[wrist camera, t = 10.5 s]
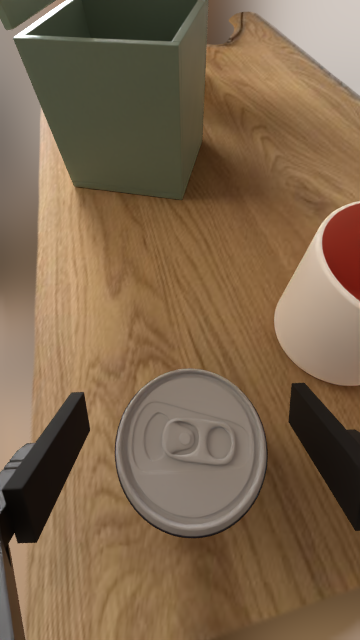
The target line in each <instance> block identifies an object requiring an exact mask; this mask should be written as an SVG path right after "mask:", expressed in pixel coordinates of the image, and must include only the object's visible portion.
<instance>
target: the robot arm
mask: <svg viewBox="0 0 360 640" xmlns="http://www.w3.org/2000/svg"><path fill="white" fill-rule="evenodd" d="M289 423H290V425H291V427H292V428H293V430H294V432H295V433H296V435H297V436H298V438H299V440H300V441H301V443H302V445H303V446H304V448H305V449H306V451H307V453H308V454H309V456H310V458H311V459H312V461H313V463H314V464H315V466H316V467H317V469H318V471H319V472H320V474H321V476H322V477H323V479H324V480H325V482H326V484H327V485H328V487H329V489H330V490H331V492H332V493H333V495H334V497H335V498H336V500H337V502H338V503H339V505H340V507H341V508H342V510H343V511H344V513H345V515H346V516H347V518H348V520H349V521H350V523H351V524H352V526H353V528H354V529H355V531H360V432H358V431H357V430H346V429H345V428H344V427H343V425H342V424H341V423H340V422H339V421H338V420H337V419H336V418H335V416H334V415H333V414H332V413H331V412H330V411H329V410H328V409H327V408H326V406H325V405H324V404H323V403H322V402H321V401H320V400H319V399H318V398H317V396H316V395H315V394H314V393H313V392H312V391H311V390H310V389H309V387H308V386H307V385H306V384H305V383H292V387H291V399H290V411H289ZM89 431H90V426H89V420H88V414H87V408H86V402H85V396H84V392H74V393H71V394H70V395H69V397H68V398H67V399H66V401H65V402H64V404H63V405H62V406H61V408H60V409H59V411H58V412H57V413H56V415H55V416H54V418H53V419H52V420H51V422H50V423H49V425H48V426H47V427H46V429H45V430H44V432H43V433H42V434H41V436H40V437H39V438H38V440H37V441H36V443H27V444H26V445H24V446H23V447H22V448H20V449H19V450H18V451H17V452H16V453H15V454H14V456H13V457H12V458H11V459H10V462H8V463H7V465H6V466H5V467H4V470H2V471H1V472H0V640H25V635H24V629H23V623H22V617H21V612H20V606H19V600H18V594H17V588H16V582H15V576H14V571H13V564H12V558H11V552H10V548H9V545H8V543H9V542H10V540H11V538H12V536H13V535H14V533H15V536H16V539H17V542H18V543H37V541H38V539H39V537H40V534H41V532H42V530H43V528H44V526H45V524H46V522H47V520H48V518H49V516H50V513H51V511H52V509H53V507H54V505H55V503H56V501H57V499H58V497H59V494H60V492H61V490H62V488H63V486H64V484H65V482H66V480H67V478H68V476H69V473H70V471H71V469H72V467H73V465H74V463H75V461H76V459H77V457H78V454H79V452H80V450H81V448H82V446H83V444H84V442H85V440H86V438H87V435H88V433H89Z"/></svg>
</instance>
